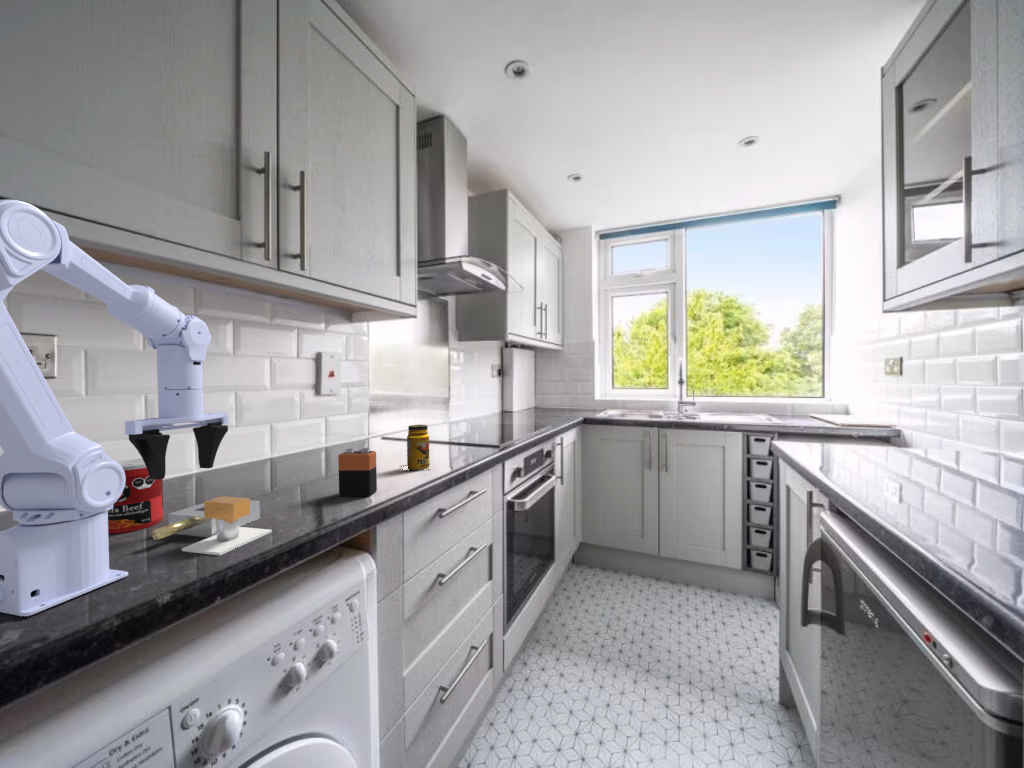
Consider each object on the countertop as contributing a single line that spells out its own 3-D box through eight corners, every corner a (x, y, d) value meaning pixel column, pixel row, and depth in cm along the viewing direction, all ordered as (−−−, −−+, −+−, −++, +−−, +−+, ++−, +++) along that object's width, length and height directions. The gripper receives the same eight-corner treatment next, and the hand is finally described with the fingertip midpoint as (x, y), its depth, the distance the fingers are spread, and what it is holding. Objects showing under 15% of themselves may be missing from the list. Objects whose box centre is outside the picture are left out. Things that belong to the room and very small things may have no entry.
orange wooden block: (250, 536, 64) (249, 498, 64) (234, 543, 61) (233, 503, 61) (222, 533, 65) (221, 496, 65) (205, 540, 62) (204, 501, 62)
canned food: (89, 536, 66) (88, 468, 66) (122, 520, 74) (120, 459, 73) (146, 531, 68) (145, 465, 68) (172, 515, 76) (171, 456, 75)
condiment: (431, 470, 111) (430, 426, 111) (398, 472, 109) (398, 427, 109) (430, 464, 118) (430, 423, 118) (400, 466, 116) (399, 424, 116)
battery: (369, 497, 86) (368, 450, 86) (338, 497, 86) (337, 450, 86) (377, 491, 90) (376, 446, 90) (347, 491, 91) (346, 446, 91)
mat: (219, 555, 58) (219, 552, 58) (181, 551, 60) (181, 548, 60) (271, 532, 67) (271, 529, 67) (237, 528, 68) (237, 526, 68)
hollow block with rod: (179, 550, 60) (178, 529, 60) (133, 545, 62) (133, 524, 62) (259, 518, 73) (259, 500, 73) (220, 515, 76) (220, 498, 75)
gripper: (206, 388, 74) (208, 462, 74) (109, 391, 60) (111, 482, 60) (236, 388, 72) (238, 464, 72) (143, 391, 58) (146, 485, 59)
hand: (183, 473), depth 66 cm, fingers open, 7 cm apart
